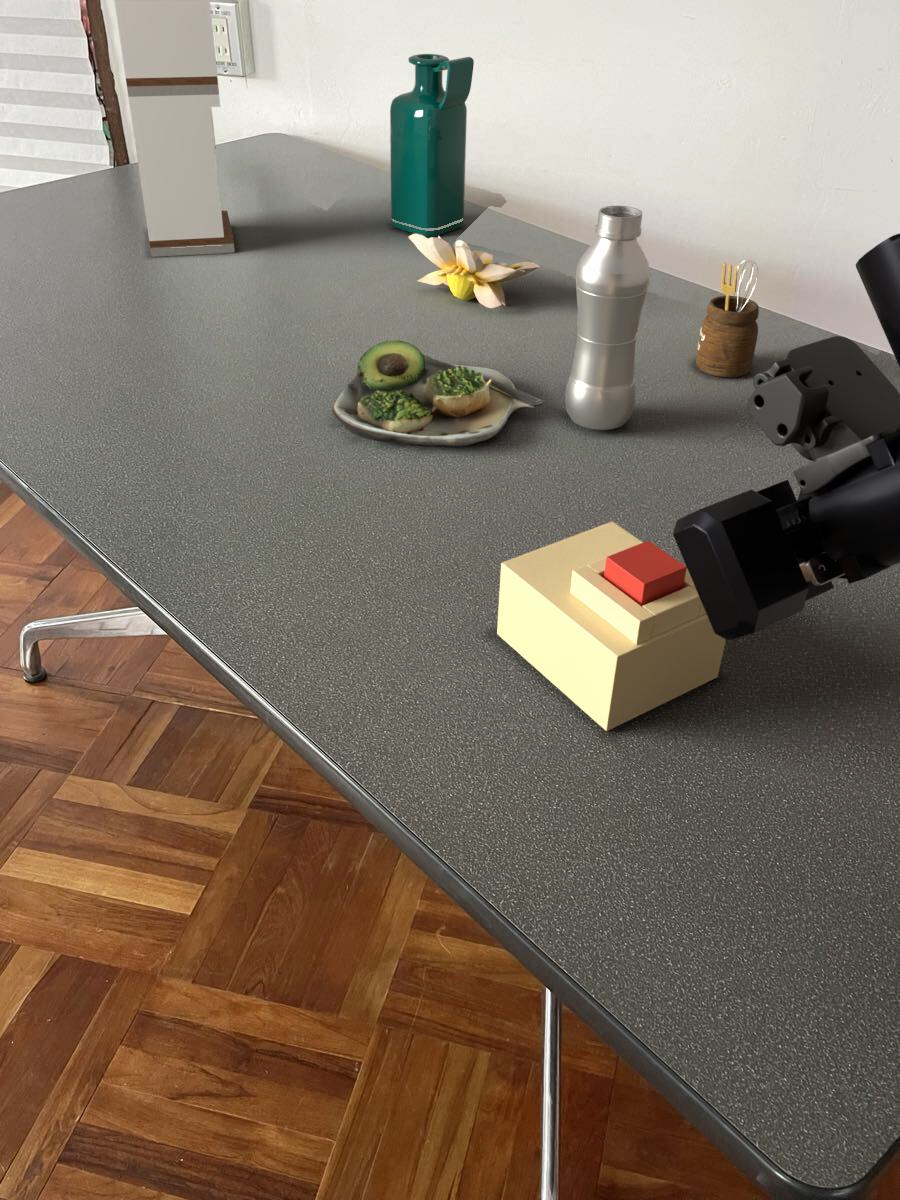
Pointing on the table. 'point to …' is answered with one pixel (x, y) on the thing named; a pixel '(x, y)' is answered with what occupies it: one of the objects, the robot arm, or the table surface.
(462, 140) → the pitcher
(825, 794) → the table surface
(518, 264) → the decorative flower
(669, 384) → the table surface
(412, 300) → the table surface
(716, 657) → the switch block
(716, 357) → the utensil holder
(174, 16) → the striped white pillar
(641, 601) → the button
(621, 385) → the silver metal bottle
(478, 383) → the salad plate
